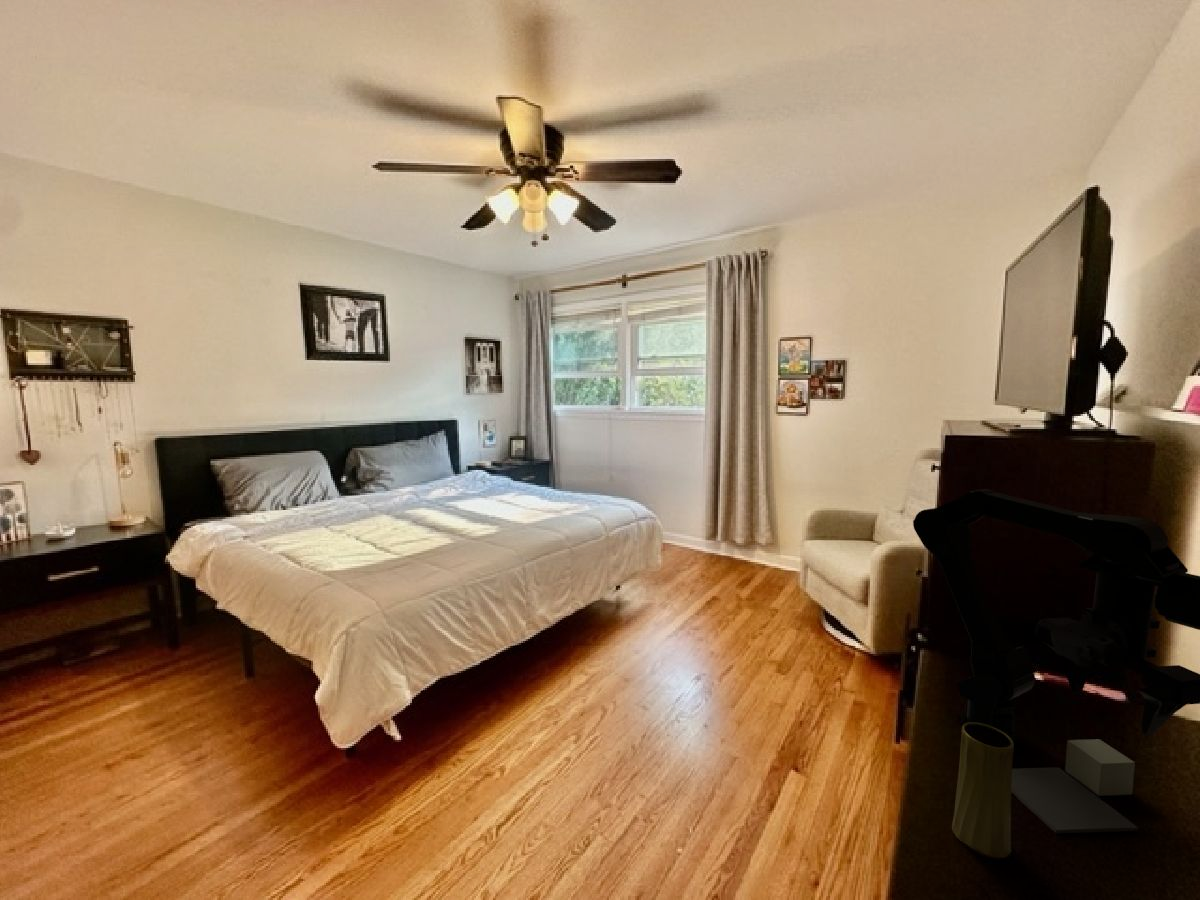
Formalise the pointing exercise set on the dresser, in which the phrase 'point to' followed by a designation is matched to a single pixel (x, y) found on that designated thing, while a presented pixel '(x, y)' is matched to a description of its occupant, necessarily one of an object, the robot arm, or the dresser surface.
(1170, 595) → the robot arm
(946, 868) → the dresser surface
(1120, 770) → the cube
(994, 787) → the vase
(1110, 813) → the mat
